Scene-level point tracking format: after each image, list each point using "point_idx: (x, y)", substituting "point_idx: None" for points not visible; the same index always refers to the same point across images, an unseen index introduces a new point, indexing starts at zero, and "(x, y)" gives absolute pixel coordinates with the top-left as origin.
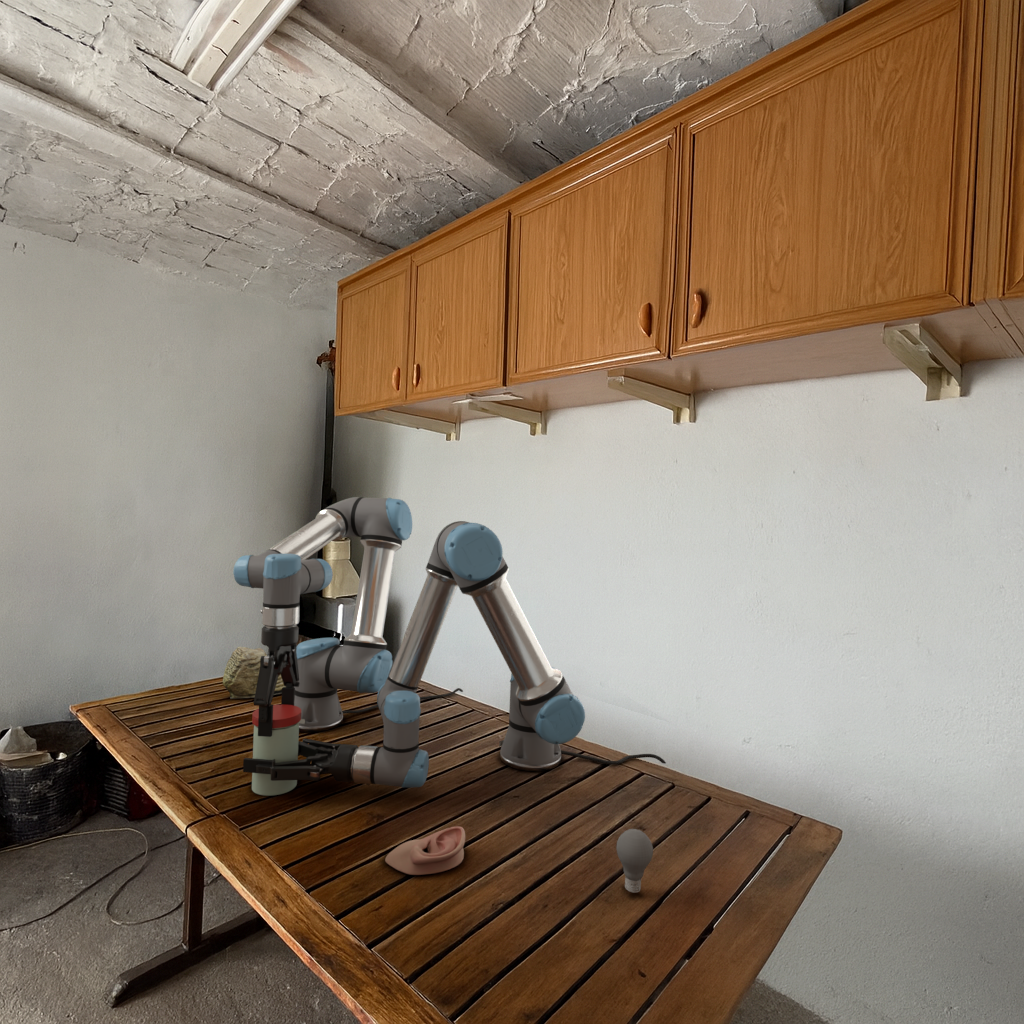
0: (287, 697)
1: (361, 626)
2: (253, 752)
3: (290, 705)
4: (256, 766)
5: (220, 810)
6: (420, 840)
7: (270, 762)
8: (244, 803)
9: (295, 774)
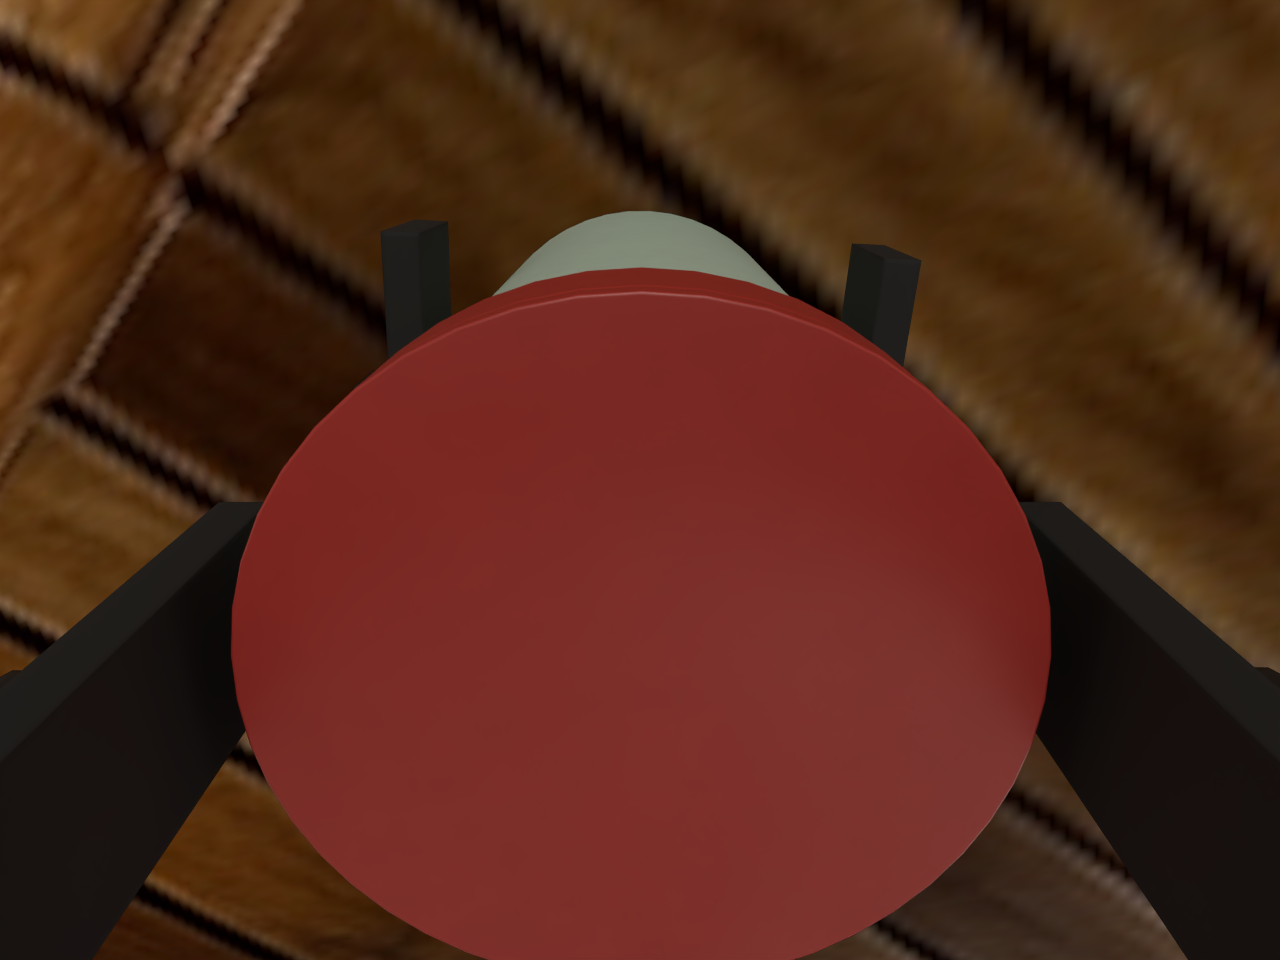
0: (1161, 780)
1: None
2: (501, 289)
3: (992, 775)
4: None
5: (216, 155)
6: None
7: None
8: (353, 277)
9: None
